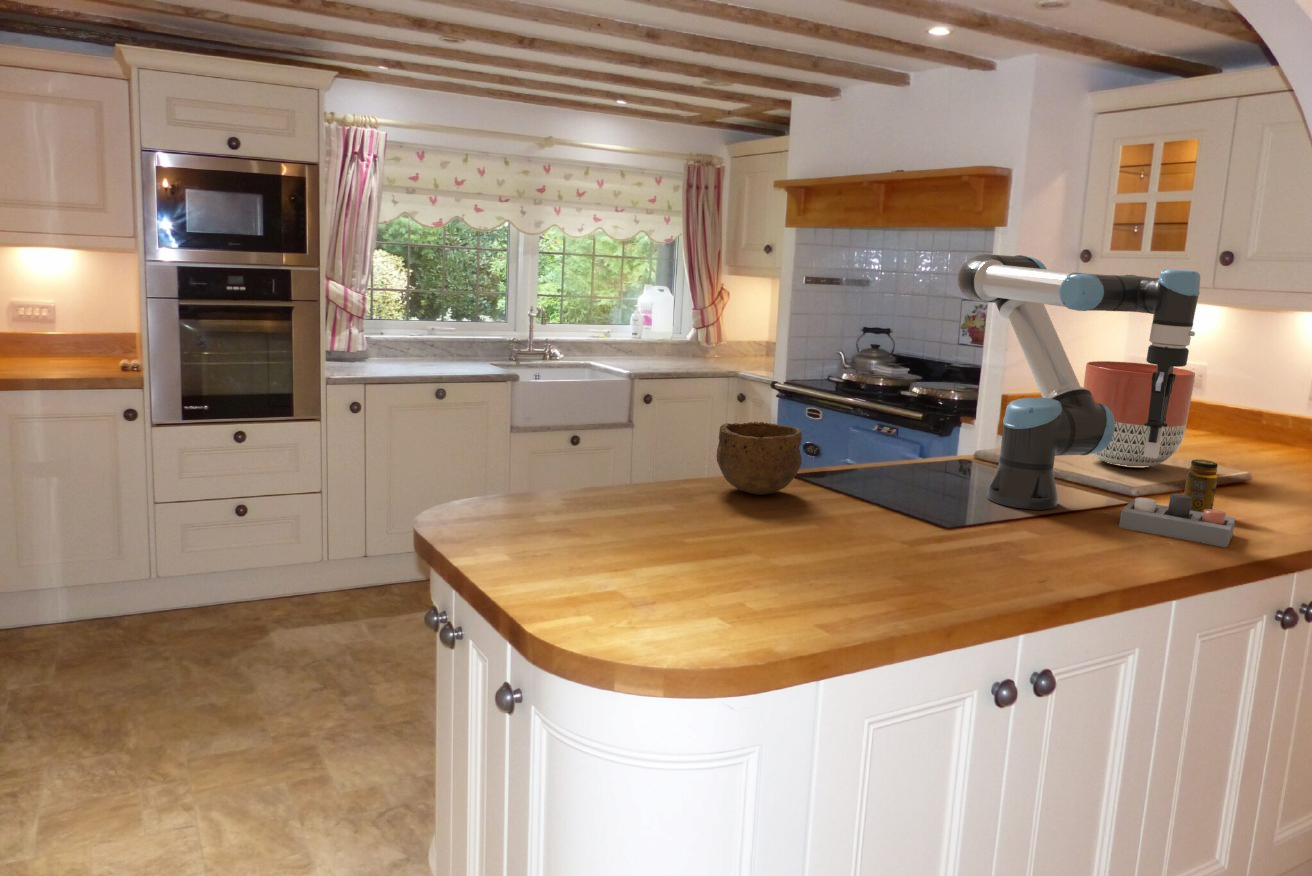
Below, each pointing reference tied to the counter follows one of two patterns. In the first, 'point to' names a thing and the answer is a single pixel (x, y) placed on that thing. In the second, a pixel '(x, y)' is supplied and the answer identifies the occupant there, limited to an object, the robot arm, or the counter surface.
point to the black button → (1179, 505)
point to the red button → (1214, 516)
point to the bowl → (759, 455)
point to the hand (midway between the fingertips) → (1150, 456)
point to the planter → (1137, 409)
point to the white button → (1145, 504)
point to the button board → (1177, 525)
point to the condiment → (1201, 484)
